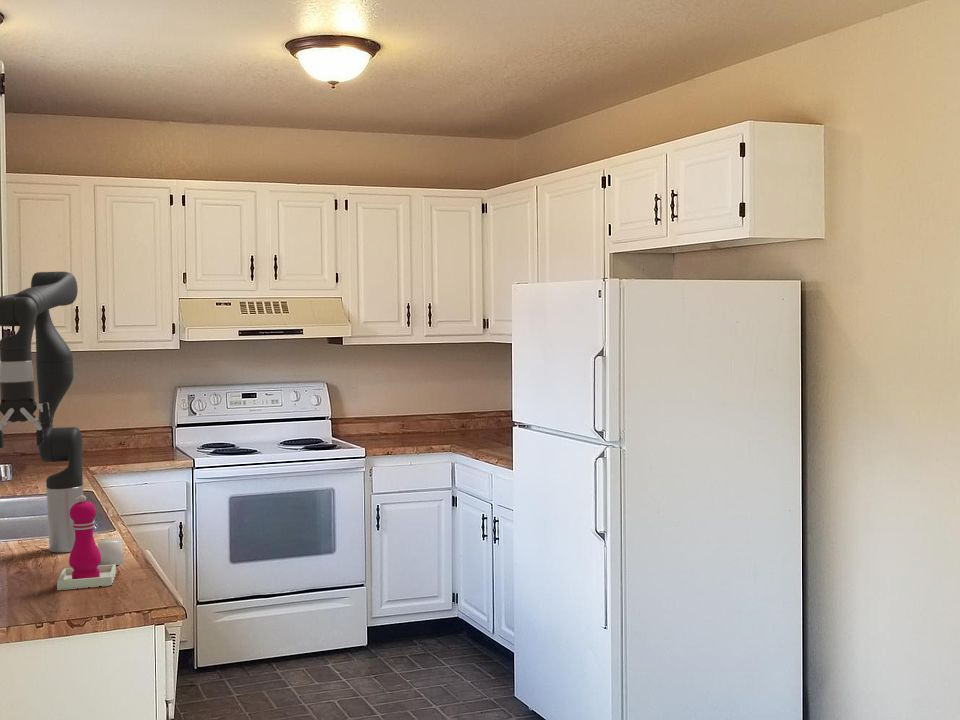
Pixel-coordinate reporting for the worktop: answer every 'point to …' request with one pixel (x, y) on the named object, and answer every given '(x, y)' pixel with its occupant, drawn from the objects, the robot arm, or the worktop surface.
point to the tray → (104, 580)
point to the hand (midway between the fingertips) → (20, 446)
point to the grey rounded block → (111, 551)
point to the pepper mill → (84, 541)
